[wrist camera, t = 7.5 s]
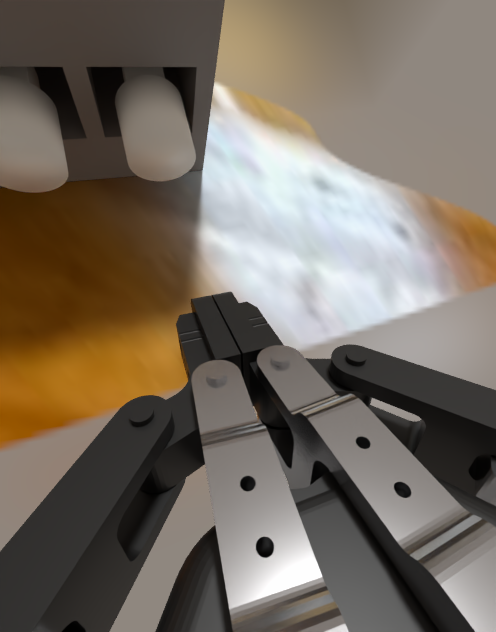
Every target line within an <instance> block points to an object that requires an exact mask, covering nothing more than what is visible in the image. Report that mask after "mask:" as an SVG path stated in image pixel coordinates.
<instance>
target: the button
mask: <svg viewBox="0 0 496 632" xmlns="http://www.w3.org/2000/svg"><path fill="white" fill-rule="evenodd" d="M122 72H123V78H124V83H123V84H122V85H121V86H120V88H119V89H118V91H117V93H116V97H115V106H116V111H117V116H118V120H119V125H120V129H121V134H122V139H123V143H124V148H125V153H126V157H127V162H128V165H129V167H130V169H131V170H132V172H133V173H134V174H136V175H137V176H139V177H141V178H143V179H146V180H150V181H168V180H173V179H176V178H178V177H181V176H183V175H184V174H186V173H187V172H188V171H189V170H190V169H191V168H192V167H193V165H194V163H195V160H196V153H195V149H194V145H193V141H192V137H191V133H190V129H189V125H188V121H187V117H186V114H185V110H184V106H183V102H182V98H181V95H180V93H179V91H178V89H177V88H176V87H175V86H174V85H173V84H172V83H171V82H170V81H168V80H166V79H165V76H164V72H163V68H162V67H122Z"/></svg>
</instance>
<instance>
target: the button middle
mask: <svg viewBox="0 0 496 632" xmlns="http://www.w3.org/2000/svg"><path fill="white" fill-rule="evenodd" d="M67 179H68V167H67V162H66V156H65V151H64V145H63V140H62V134H61V129H60V123H59V118H58V112H57V109H56V106H55V104H54V103H53V101H52V100H51V99H50V98H49V96H48V95H47V94H46V93H44V92H43V91H42V90H41V89H40V85H39V79H38V76H37V73H36V71H35V69H34V67H0V186H3V187H5V188H8V189H12V190H16V191H21V192H31V193H37V192H46V191H51V190H54V189H56V188H59V187H60V186H62V185H63V184H64V183H65V182H66V180H67Z"/></svg>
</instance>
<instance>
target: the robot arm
mask: <svg viewBox="0 0 496 632" xmlns="http://www.w3.org/2000/svg"><path fill="white" fill-rule="evenodd" d="M191 307H192V313H188V314H183V315H180V316H179V318H178V321H177V323H176V327H177V332H178V338H179V343H180V349H181V355H182V359H183V363H184V367H185V370H186V374H187V378H188V383H187V384H186V386H185V387H184V388H183V389H182V390H181V391H180V392H179V393H177V394H176V395H174V396H172V397H171V398H169V399H167V400H165V399H163V398H161V397H159V396H154V395H148V396H141V397H138V398H135V399H133V400H131V401H129V402H128V403H126V404H125V405H124V406H122V407H121V408H120V409H119V411H118V412H117V413H116V414H115V415H114V417H113V418H112V419H111V420H110V421H109V423H108V424H107V425H106V426H105V427H104V428H103V430H102V431H101V432H100V433H99V434H98V436H97V437H96V438H95V439H94V441H93V442H92V443H91V444H90V445H89V446H88V448H87V449H86V450H85V451H84V452H83V454H82V455H81V456H80V457H79V458H78V460H77V461H76V462H75V463H74V464H73V466H72V467H71V468H70V469H69V470H68V471H67V473H66V474H65V475H64V476H63V477H62V479H61V480H60V481H59V482H58V483H57V485H56V486H55V487H54V488H53V489H52V491H51V492H50V493H49V494H48V495H47V497H46V498H45V499H44V500H43V501H42V502H41V504H40V505H39V506H38V507H37V508H36V510H35V511H34V512H33V513H32V514H31V516H30V517H29V518H28V519H27V520H26V522H25V523H24V524H23V525H22V526H21V527H20V529H19V530H18V531H17V532H16V533H15V535H14V536H13V537H12V538H11V540H10V541H9V542H8V543H7V544H6V545H5V547H4V548H3V549H2V550H1V552H0V632H109V631H110V629H111V627H112V625H113V623H114V621H115V619H116V618H117V616H118V614H119V611H120V610H121V608H122V606H123V604H124V602H125V600H126V598H127V596H128V594H129V592H130V590H131V588H132V586H133V584H134V582H135V580H136V578H137V576H138V574H139V572H140V570H141V568H142V566H143V564H144V562H145V560H146V559H147V556H148V555H149V552H150V551H151V549H152V547H153V545H154V543H155V540H156V539H157V537H158V535H159V533H160V531H161V529H162V527H163V525H164V523H165V521H166V519H167V517H168V515H169V513H170V511H171V509H172V507H173V505H174V503H175V501H176V499H177V498H178V496H179V494H180V492H181V490H182V488H183V485H184V483H185V479H186V477H187V476H189V475H190V474H192V473H193V472H194V471H196V470H197V469H199V468H200V467H201V466H203V465H204V464H205V466H206V472H207V478H208V484H209V490H210V496H211V502H212V508H213V514H214V521H215V526H213V527H212V528H211V529H210V530H209V531H208V532H207V533H206V534H205V535H204V536H203V537H202V538H201V539H200V540H199V542H198V543H197V544H196V545H195V546H194V548H193V549H192V551H191V552H190V554H189V555H188V557H187V558H186V560H185V562H184V564H183V566H182V568H181V570H180V571H179V574H178V576H177V578H176V581H175V583H174V586H173V588H172V591H171V593H170V596H169V599H168V601H167V604H166V606H165V609H164V611H163V614H162V616H161V619H160V621H159V624H158V627H157V629H156V632H496V390H493V389H490V388H487V387H484V386H481V385H478V384H475V383H472V382H469V381H466V380H462V379H460V378H456V377H454V376H450V375H447V374H444V373H441V372H438V371H435V370H432V369H429V368H426V367H423V366H420V365H417V364H414V363H411V362H408V361H405V360H402V359H399V358H396V357H393V356H390V355H386V354H383V353H380V352H377V351H374V350H371V349H368V348H365V347H362V346H358V345H343V346H340V347H338V348H336V349H335V350H334V351H333V353H332V357H331V359H307V358H304V357H303V355H302V354H301V353H300V352H299V351H297V350H296V349H294V348H292V347H289V346H284V345H283V344H282V342H281V341H280V339H279V338H278V336H277V335H276V334H275V332H274V331H273V329H272V328H271V327H270V325H269V324H268V323H267V321H266V319H265V318H264V317H263V315H262V314H261V312H260V311H259V310H258V308H257V307H255V306H254V305H252V304H250V303H248V302H243V303H238V301H237V300H236V298H235V297H234V295H233V293H232V292H226V293H221V294H215V295H212V296H205V297H200V298H194V299H191ZM372 398H375V399H377V400H380V401H382V402H385V403H387V404H390V405H392V406H395V407H397V408H400V409H402V410H405V411H407V412H410V413H413V414H415V415H417V416H419V417H420V418H421V419H422V420H420V421H417V422H412V421H408V420H406V419H403V418H401V417H398V416H396V415H393V414H391V413H389V412H386V411H384V410H381V409H379V408H376V407H374V406H371V405H370V403H371V399H372ZM253 406H254V407H255V409H256V411H257V417H256V414H255V411H254V408H253ZM283 472H284V473H283ZM284 474H285V476H286V478H287V481H288V483H287V481H286V478H285V476H284ZM288 484H289V486H288ZM289 488H290V489H289Z"/></svg>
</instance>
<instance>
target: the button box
mask: <svg viewBox="0 0 496 632" xmlns="http://www.w3.org/2000/svg"><path fill="white" fill-rule="evenodd" d="M224 1H225V0H0V67H34V69H35V71H36V73H37V76H38V79H39V85H40V89H41V90H42V91H43V92H44V93H46V94H47V95H48V96H49V98H50V99H51V100H52V101H53V103H54V104H55V106H56V109H57V112H58V118H59V123H60V129H61V134H62V140H63V145H64V151H65V156H66V162H67V167H68V179H67V180H66V182H70V181H82V180H94V179H105V178H117V177H129V176H137V175H136V174H134V173H133V172H132V170H131V169H130V167H129V165H128V162H127V157H126V153H125V148H124V143H123V139H122V134H121V129H120V125H119V120H118V116H117V111H116V106H115V97H116V93H117V91H118V89H119V88H120V86H121V85H122V84H123V83H124V78H123V72H122V67H162V68H163V72H164V76H165V79H166V80H168V81H170V82H171V83H172V84H173V85H174V86H175V87H176V88H177V89H178V91H179V93H180V95H181V98H182V102H183V106H184V110H185V114H186V117H187V121H188V125H189V129H190V133H191V137H192V141H193V145H194V149H195V153H196V160H195V163H194V165H193V167H192V168H191V169H190V170H189V171H200V170H203V163H204V155H205V147H206V140H207V132H208V124H209V117H210V109H211V101H212V94H213V86H214V78H215V70H216V63H217V55H218V47H219V40H220V32H221V25H222V17H223V9H224ZM0 187H3V186H0Z"/></svg>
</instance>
